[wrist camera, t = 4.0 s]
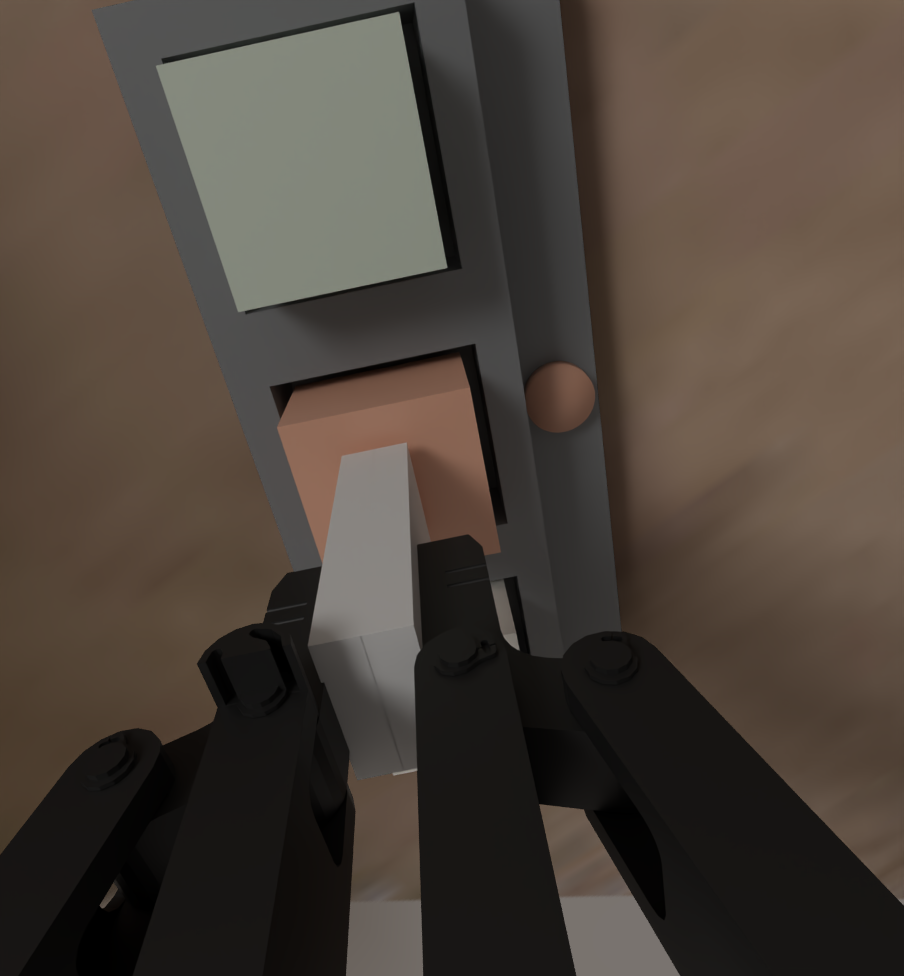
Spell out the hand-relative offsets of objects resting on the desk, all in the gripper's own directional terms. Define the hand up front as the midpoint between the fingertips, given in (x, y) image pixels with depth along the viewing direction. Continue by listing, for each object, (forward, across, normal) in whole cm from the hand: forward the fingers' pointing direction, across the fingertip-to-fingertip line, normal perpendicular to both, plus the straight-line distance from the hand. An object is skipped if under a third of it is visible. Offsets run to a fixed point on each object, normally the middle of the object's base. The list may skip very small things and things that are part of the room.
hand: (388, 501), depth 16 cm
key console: (+6, -1, 0) cm, 6 cm away
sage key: (+3, 0, -7) cm, 8 cm away
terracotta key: (+3, 0, 0) cm, 3 cm away
